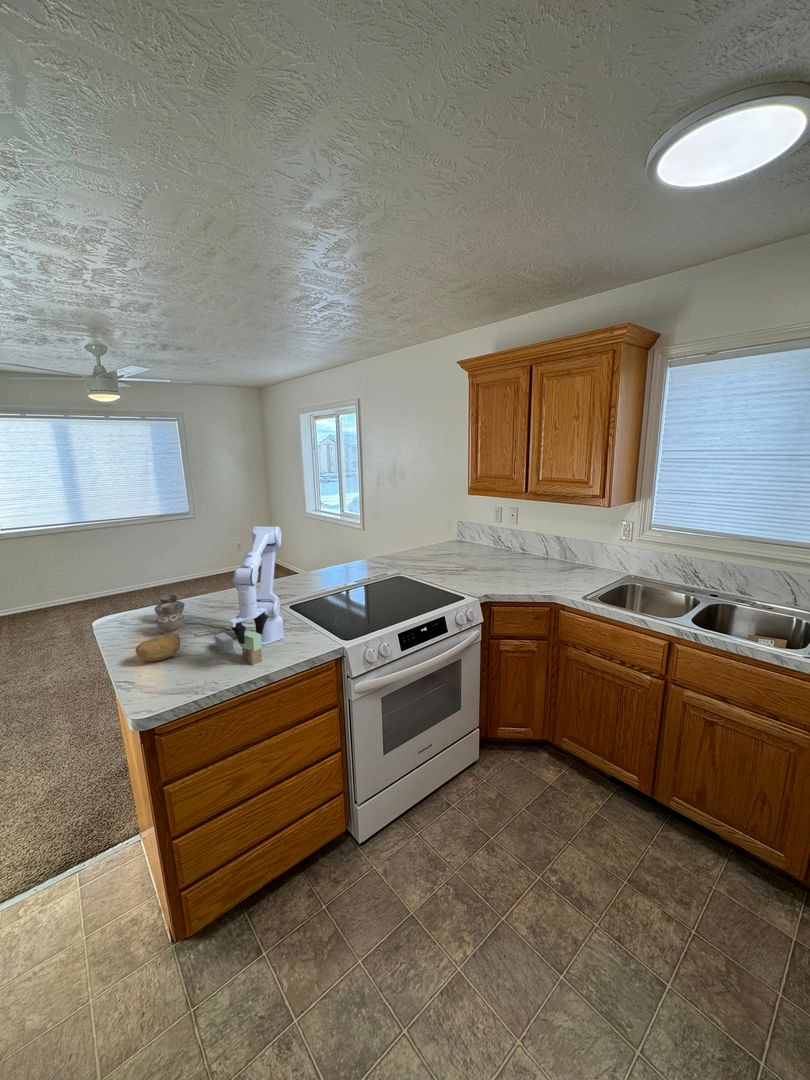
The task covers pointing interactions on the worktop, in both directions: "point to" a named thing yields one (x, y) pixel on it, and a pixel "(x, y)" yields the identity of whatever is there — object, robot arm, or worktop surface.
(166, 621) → the pottery
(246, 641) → the green brick
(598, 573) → the worktop surface
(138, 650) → the potato
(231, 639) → the slate brick
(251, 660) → the walnut brick
